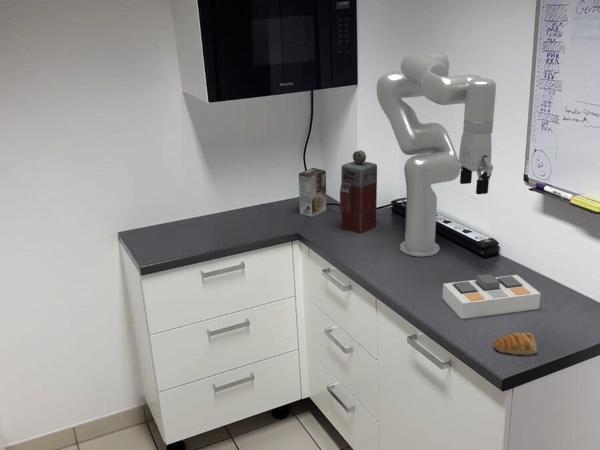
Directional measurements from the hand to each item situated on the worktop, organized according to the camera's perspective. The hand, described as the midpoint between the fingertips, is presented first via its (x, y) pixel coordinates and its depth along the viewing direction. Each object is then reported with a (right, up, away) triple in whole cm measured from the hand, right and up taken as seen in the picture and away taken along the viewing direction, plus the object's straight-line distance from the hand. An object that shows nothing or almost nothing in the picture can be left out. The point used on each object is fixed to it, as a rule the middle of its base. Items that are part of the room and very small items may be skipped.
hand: (473, 188), depth 177 cm
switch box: (+4, -31, -3) cm, 32 cm away
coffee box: (-43, -5, +70) cm, 82 cm away
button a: (-3, -30, -3) cm, 30 cm away
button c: (+9, -29, 0) cm, 30 cm away
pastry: (+4, -40, -24) cm, 47 cm away
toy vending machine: (-27, -11, +53) cm, 60 cm away
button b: (+3, -28, -2) cm, 28 cm away
